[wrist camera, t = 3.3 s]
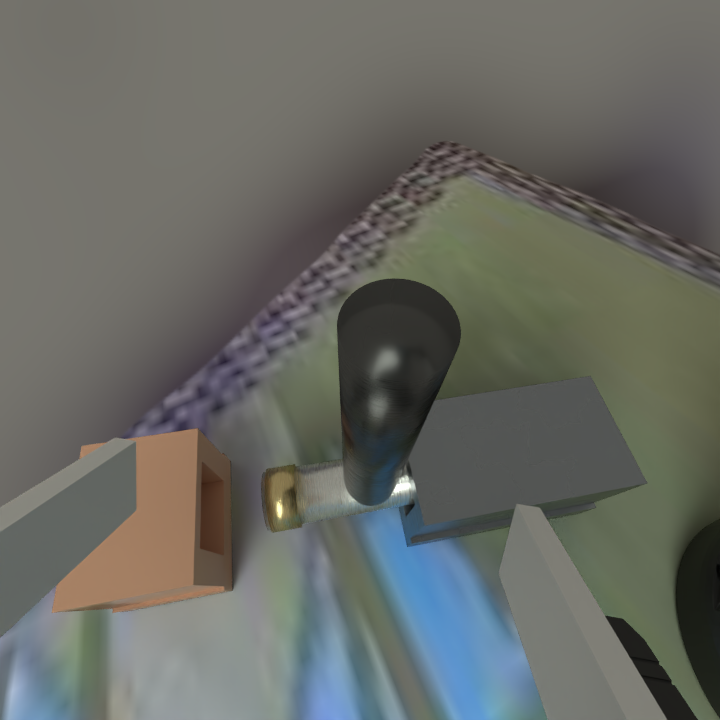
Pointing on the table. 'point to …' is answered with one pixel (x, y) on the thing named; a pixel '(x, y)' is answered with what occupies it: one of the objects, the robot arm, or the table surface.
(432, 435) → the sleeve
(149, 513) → the tan box
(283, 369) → the table surface
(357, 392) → the l-shaped tool
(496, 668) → the table surface
